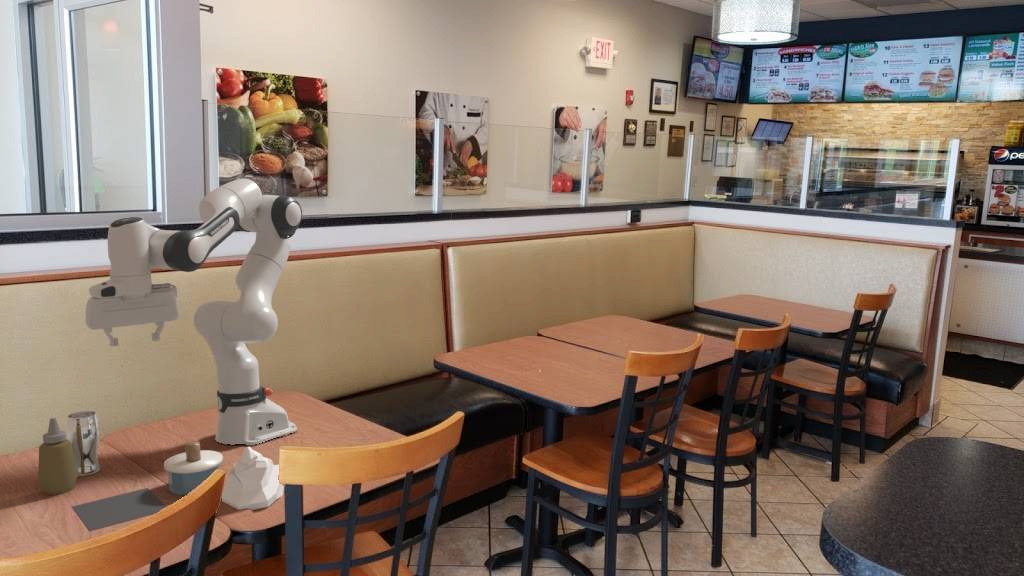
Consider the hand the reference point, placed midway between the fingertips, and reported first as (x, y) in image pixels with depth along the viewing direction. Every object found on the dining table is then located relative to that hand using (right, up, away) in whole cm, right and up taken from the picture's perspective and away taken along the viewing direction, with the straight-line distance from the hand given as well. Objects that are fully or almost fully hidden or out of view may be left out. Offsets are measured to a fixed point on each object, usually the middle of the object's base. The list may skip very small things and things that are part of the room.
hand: (135, 343), depth 188 cm
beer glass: (-17, -33, +9) cm, 38 cm away
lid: (+15, -28, -3) cm, 32 cm away
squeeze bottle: (-16, -35, -4) cm, 39 cm away
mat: (+4, -37, -14) cm, 39 cm away
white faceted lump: (+32, -36, -8) cm, 49 cm away
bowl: (+15, -35, -2) cm, 38 cm away
